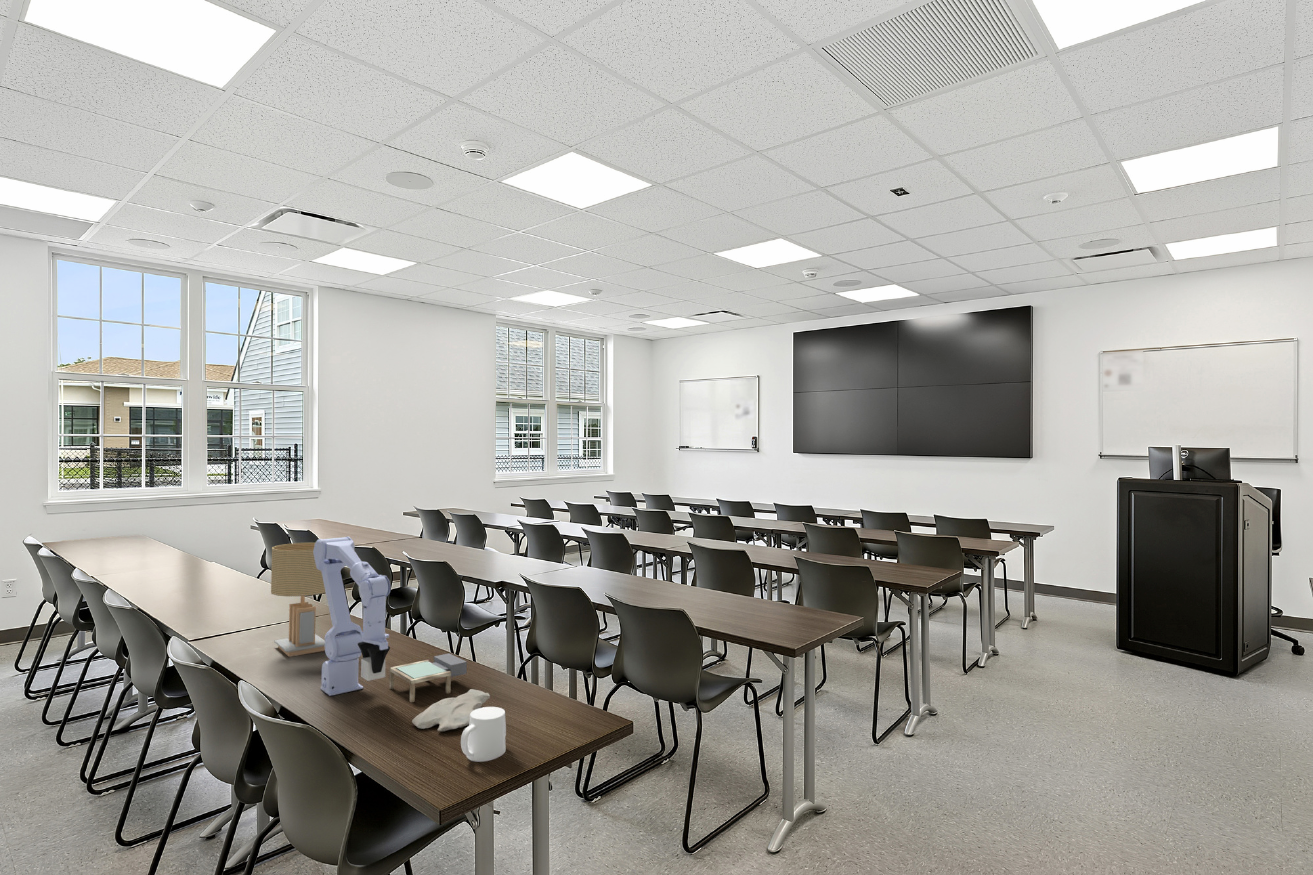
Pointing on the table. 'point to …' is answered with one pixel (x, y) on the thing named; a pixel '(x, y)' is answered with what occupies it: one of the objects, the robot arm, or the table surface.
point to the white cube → (370, 670)
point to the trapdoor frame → (417, 679)
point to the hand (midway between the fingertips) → (373, 669)
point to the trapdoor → (436, 667)
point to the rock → (451, 711)
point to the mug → (485, 734)
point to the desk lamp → (298, 578)
